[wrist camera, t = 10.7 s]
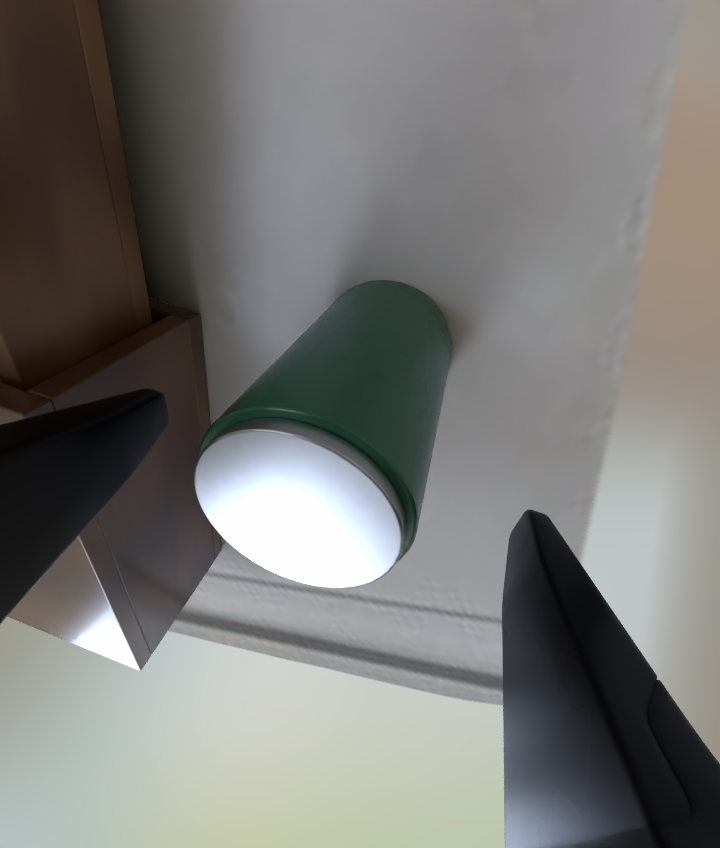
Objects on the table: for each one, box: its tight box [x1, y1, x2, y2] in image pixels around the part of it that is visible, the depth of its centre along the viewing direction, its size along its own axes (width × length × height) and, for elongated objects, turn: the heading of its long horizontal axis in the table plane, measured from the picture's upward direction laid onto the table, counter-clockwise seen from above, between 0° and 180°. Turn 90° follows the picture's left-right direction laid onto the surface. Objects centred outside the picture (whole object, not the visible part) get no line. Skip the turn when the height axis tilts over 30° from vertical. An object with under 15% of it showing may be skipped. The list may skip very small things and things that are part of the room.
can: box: [194, 280, 452, 588], centre depth 11 cm, size 5×5×8 cm
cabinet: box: [0, 298, 221, 670], centre depth 19 cm, size 17×15×8 cm
